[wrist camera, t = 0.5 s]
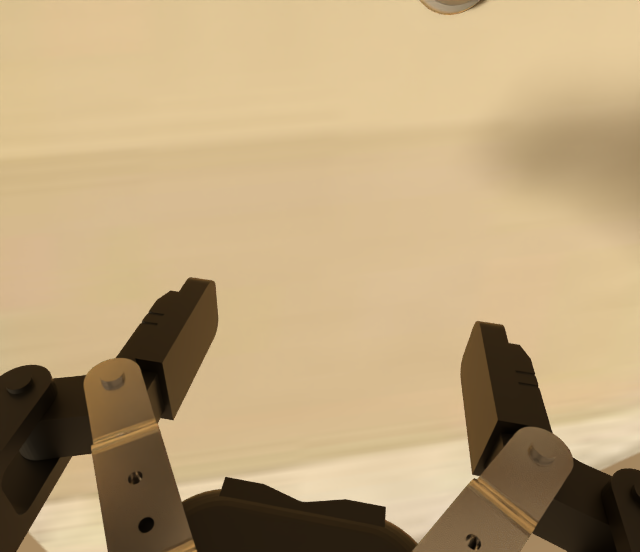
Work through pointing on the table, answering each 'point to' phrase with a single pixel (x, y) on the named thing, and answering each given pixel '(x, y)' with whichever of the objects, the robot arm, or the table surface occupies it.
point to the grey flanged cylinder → (449, 6)
